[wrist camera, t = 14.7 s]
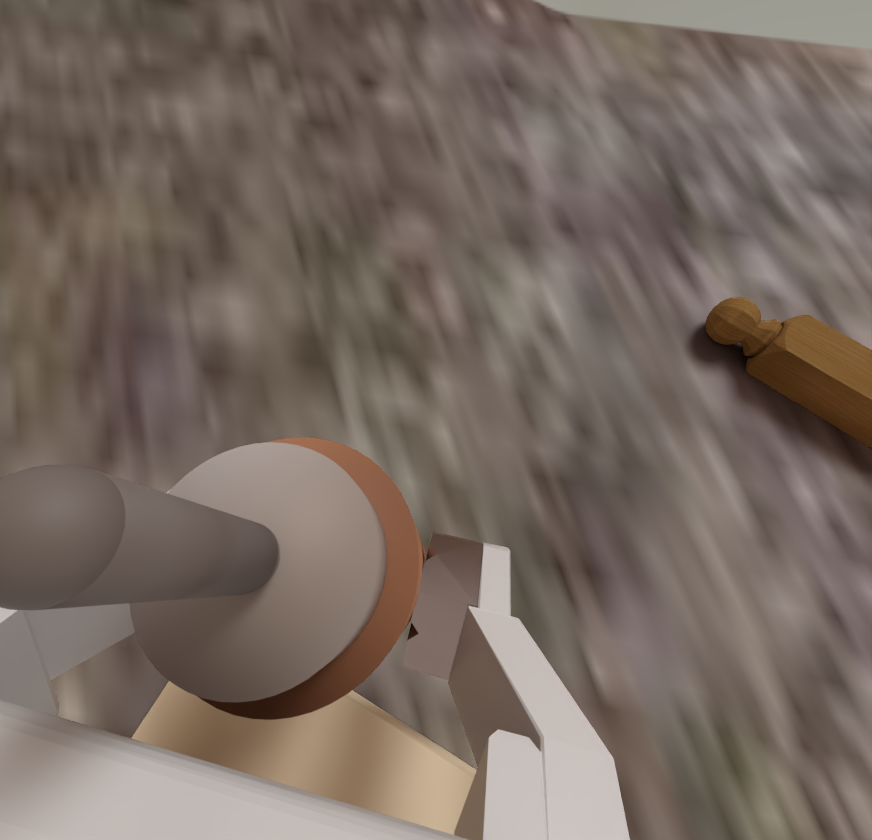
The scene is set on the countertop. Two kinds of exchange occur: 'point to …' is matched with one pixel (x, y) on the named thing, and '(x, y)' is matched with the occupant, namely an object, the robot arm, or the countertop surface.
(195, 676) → the awl
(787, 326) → the tap handle
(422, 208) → the countertop surface
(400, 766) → the subfloor panel
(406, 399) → the countertop surface
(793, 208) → the countertop surface
